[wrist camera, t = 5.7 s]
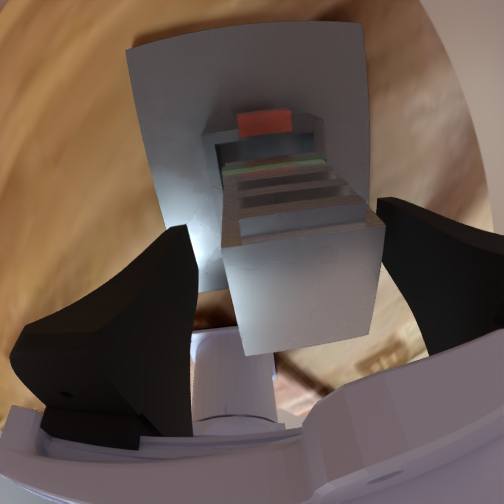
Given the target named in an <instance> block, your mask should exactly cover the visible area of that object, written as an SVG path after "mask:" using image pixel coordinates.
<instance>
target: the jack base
mask: <svg viewBox="0 0 504 504" xmlns="http://www.w3.org/2000/svg"><path fill="white" fill-rule="evenodd" d="M125 51H126V57H127V63H128V69H129V75H130V80H131V85H132V91H133V96H134V101H135V105H136V110H137V115H138V120H139V124H140V129H141V133H142V138H143V142H144V146H145V150H146V154H147V158H148V163H149V167H150V170H151V174H152V178H153V182H154V186H155V190H156V193H157V197H158V201H159V204H160V208H161V211H162V215H163V218H164V222H165V225H166V229H168V228H169V227H171V226H177V225H183V224H187V227H188V231H189V235H190V239H191V242H192V246H193V250H194V253H195V257H196V261H197V264H198V268H199V292H207V291H215V290H222V289H230V288H229V284H228V279H227V275H226V271H225V266H224V262H223V257H222V252H221V230H222V210H223V192H224V182H223V176H222V167H225V163H230V162H237V161H243V160H251V159H258V158H265V157H273V156H282V155H291V154H300V153H310V152H316V153H317V154H318V155H324V156H325V157H326V158H327V164H328V165H329V166H331V167H332V168H333V169H334V170H335V171H336V173H337V174H338V175H339V176H340V177H341V178H343V179H344V180H345V181H346V182H347V183H348V184H349V186H350V187H351V188H352V189H353V190H354V191H355V192H356V193H357V194H359V195H360V196H361V197H362V198H363V199H364V200H365V201H366V202H367V205H368V203H369V176H370V126H369V100H368V83H367V70H366V59H365V49H364V40H363V32H362V25H361V23H352V22H334V21H285V22H267V23H255V24H245V25H237V26H229V27H222V28H216V29H209V30H204V31H198V32H193V33H188V34H184V35H179V36H175V37H171V38H166V39H162V40H159V41H155V42H151V43H148V44H144V45H141V46H137V47H134V48H131V49H128V50H125ZM199 292H198V293H199Z"/></svg>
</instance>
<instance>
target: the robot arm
mask: <svg viewBox="0 0 504 504" xmlns="http://www.w3.org/2000/svg"><path fill="white" fill-rule="evenodd" d="M376 215H377V216H378V217H379V218H380V219H381V221H382V222H383V223H384V224H385V225H386V228H385V238H384V246H383V254H382V263H383V265H384V267H385V268H386V270H387V271H388V273H389V274H390V276H391V278H392V279H393V281H394V282H395V284H396V286H397V287H398V289H399V290H400V292H401V293H402V295H403V297H404V298H405V300H406V302H407V303H408V305H409V307H410V309H411V311H412V313H413V315H414V317H415V319H416V322H417V324H418V327H419V329H420V331H421V334H422V337H423V339H424V342H425V345H426V348H427V351H428V354H429V357H426V358H423V359H420V360H417V361H413V362H410V363H407V364H404V365H400V366H397V367H393V368H390V369H386V370H383V371H379V372H376V373H374V374H371V375H369V376H366V377H363V378H361V379H358V380H355V381H353V382H350V383H347V384H344V385H343V386H341V387H340V388H338V389H337V390H335V391H334V392H332V393H330V394H329V395H327V396H326V397H324V398H323V399H321V400H319V401H318V402H317V403H316V404H315V405H314V406H313V408H312V409H311V411H310V413H309V414H308V416H307V417H306V419H305V420H304V422H303V425H302V427H300V428H293V429H287V430H286V429H285V424H284V423H278V417H277V410H276V402H275V395H274V387H273V381H274V380H276V371H275V363H274V356H273V352H272V353H265V354H258V355H250V356H245V352H244V348H243V344H242V339H241V335H240V331H239V327H238V326H232V327H224V328H215V329H206V330H196V331H193V325H194V318H195V312H196V305H197V299H198V292H199V268H198V264H197V261H196V257H195V253H194V250H193V246H192V242H191V239H190V235H189V231H188V227H187V224H183V225H177V226H171V227H169V228H168V229H167V230H166V231H164V232H163V233H162V234H161V235H160V236H159V237H158V238H157V239H156V240H155V241H154V242H153V243H152V244H151V245H150V246H149V247H148V248H146V249H145V250H144V251H143V252H142V253H141V254H140V255H139V256H138V257H137V258H136V259H134V260H133V261H132V262H131V263H130V264H129V265H128V266H127V267H125V268H124V269H123V270H122V271H121V272H119V273H118V274H117V275H116V276H114V277H113V278H112V279H110V280H109V281H108V282H106V283H105V284H103V285H102V286H100V287H99V288H97V289H96V290H94V291H93V292H91V293H89V294H88V295H86V296H85V297H83V298H82V299H80V300H78V301H76V302H75V303H73V304H71V305H69V306H67V307H65V308H63V309H61V310H59V311H57V312H55V313H53V314H51V315H49V316H46V317H44V318H42V319H39V320H37V321H35V322H33V323H30V324H27V325H26V326H25V327H24V328H23V330H22V332H21V334H20V336H19V338H18V339H17V341H16V343H15V345H14V347H13V349H12V351H11V354H10V357H9V358H10V363H11V366H12V368H13V370H14V372H15V374H16V375H17V377H18V378H19V379H20V380H21V381H22V382H23V384H24V385H25V386H26V387H27V388H28V389H29V390H30V391H31V392H32V393H33V394H34V395H35V396H36V397H37V398H38V399H39V400H40V401H41V402H43V403H44V404H45V405H46V409H45V412H44V415H43V414H42V413H40V412H38V411H36V410H33V409H29V408H24V407H20V406H16V405H12V406H11V408H10V411H9V414H8V417H7V420H6V423H5V426H4V429H3V432H2V435H1V438H0V475H1V476H2V477H4V478H5V479H7V480H9V481H11V482H13V483H14V484H16V485H18V486H20V487H22V488H24V489H26V490H28V491H30V492H32V493H34V494H36V495H38V496H40V497H42V498H45V499H47V500H50V501H52V502H55V503H58V504H504V235H499V234H495V233H491V232H487V231H484V230H480V229H477V228H474V227H471V226H468V225H465V224H462V223H459V222H456V221H454V220H451V219H449V218H446V217H444V216H441V215H439V214H436V213H434V212H431V211H429V210H427V209H424V208H422V207H419V206H417V205H415V204H412V203H409V202H407V201H404V200H401V199H398V198H394V197H385V198H377V209H376ZM190 355H191V357H192V360H193V362H194V364H195V368H194V383H193V399H192V412H191V396H190V395H191V392H190Z"/></svg>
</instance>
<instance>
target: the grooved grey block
mask: <svg viewBox="0 0 504 504" xmlns="http://www.w3.org/2000/svg"><path fill="white" fill-rule="evenodd" d="M222 176H223V182H224V192H223V210H222V230H221V252H222V257H223V262H224V266H225V271H226V275H227V279H228V284H229V288H230V293H231V297H232V301H233V306H234V310H235V314H236V318H237V323H238V327H239V331H240V335H241V339H242V344H243V348H244V352H245V356H250V355H258V354H265V353H272V352H279V351H286V350H292V349H298V348H304V347H310V346H316V345H321V344H327V343H332V342H337V341H342V340H347V339H351V338H356V337H361V336H365V335H368V334H369V330H370V325H371V320H372V315H373V310H374V304H375V299H376V293H377V287H378V281H379V275H380V268H381V261H382V254H383V246H384V238H385V228H386V225H385V224H384V223H383V222H382V221H381V219H380V218H379V217H378V216H377V215H376V214H375V213H374V212H373V211H372V209H371V208H370V207H369V206H368V205H367V202H366V201H365V200H364V199H363V198H362V197H361V196H360V195H359V194H357V193H356V192H355V191H354V190H353V189H352V188H351V187H350V186H349V184H348V183H347V182H346V181H345V180H344V179H343V178H341V177H340V176H339V175H338V174H337V173H336V171H335V170H334V169H333V168H332V167H331V166H329V165H328V164H327V158H326V157H325V156H324V155H318V154H317V153H316V152H310V153H300V154H291V155H282V156H273V157H265V158H258V159H251V160H243V161H237V162H230V163H225V167H222Z"/></svg>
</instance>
